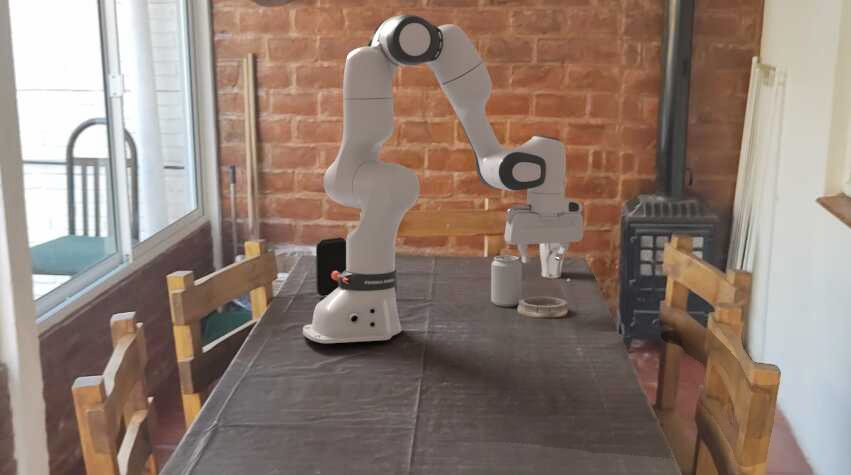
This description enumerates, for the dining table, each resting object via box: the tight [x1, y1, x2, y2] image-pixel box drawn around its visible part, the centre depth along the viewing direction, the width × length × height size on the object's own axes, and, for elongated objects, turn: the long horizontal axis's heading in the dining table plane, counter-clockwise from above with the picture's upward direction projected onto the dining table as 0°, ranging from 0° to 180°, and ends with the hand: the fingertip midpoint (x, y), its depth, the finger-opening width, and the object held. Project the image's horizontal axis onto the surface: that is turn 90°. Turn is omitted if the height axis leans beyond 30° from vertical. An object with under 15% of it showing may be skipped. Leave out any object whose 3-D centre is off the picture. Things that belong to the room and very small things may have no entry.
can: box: [490, 255, 523, 308], centre depth 226 cm, size 8×8×12 cm
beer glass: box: [539, 243, 564, 279], centre depth 250 cm, size 7×7×15 cm
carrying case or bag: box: [315, 237, 346, 297], centre depth 235 cm, size 11×3×15 cm, turn 135°
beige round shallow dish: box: [517, 295, 568, 319], centre depth 219 cm, size 12×12×2 cm
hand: (542, 261), depth 217 cm, fingers open, 8 cm apart
